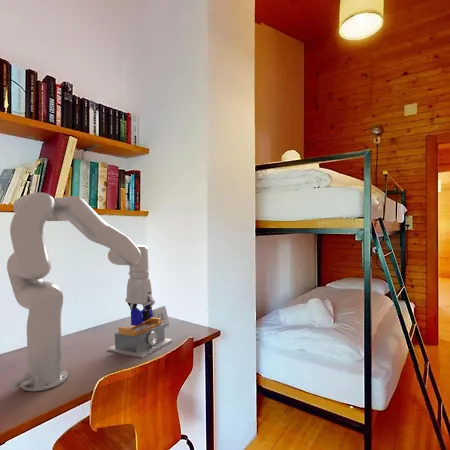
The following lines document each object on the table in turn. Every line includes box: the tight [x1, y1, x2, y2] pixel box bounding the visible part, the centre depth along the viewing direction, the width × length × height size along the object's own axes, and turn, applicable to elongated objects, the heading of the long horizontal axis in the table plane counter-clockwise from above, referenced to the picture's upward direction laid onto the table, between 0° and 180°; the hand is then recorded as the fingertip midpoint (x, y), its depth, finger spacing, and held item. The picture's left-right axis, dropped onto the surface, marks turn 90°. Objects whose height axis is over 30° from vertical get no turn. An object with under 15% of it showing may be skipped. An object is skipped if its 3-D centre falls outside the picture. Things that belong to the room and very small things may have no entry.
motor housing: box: [107, 317, 173, 359], centre depth 128 cm, size 18×18×10 cm
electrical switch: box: [152, 305, 170, 327], centre depth 155 cm, size 9×5×9 cm, turn 152°
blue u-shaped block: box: [130, 305, 153, 326], centre depth 128 cm, size 12×4×6 cm, turn 166°
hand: (140, 318), depth 128 cm, fingers closed on blue u-shaped block, 5 cm apart
